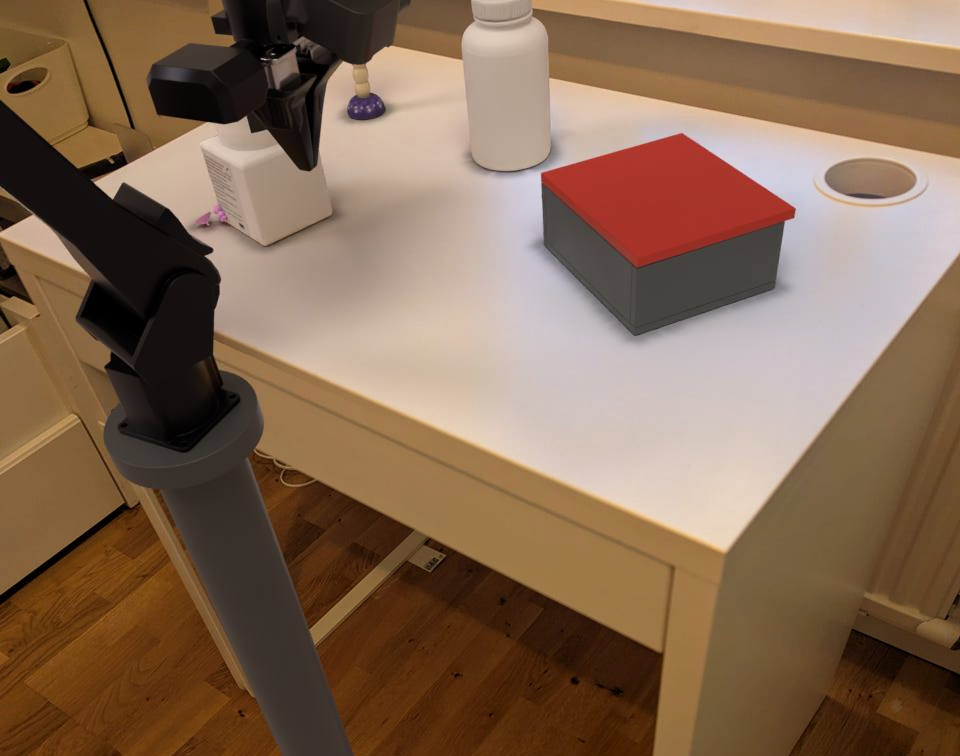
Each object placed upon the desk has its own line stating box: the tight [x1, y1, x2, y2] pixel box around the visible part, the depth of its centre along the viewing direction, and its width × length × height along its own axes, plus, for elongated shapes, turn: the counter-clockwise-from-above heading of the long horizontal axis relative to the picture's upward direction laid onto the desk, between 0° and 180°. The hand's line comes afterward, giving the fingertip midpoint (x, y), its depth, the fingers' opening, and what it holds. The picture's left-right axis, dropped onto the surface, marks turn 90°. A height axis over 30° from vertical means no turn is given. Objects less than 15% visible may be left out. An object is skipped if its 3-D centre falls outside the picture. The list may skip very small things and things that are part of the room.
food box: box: [540, 182, 786, 336], centre depth 74 cm, size 12×15×6 cm
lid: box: [540, 132, 797, 268], centre depth 72 cm, size 13×15×1 cm
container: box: [199, 112, 333, 247], centre depth 83 cm, size 8×8×13 cm
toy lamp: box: [346, 63, 386, 121], centre depth 98 cm, size 5×5×17 cm
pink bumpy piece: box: [194, 204, 228, 226], centre depth 87 cm, size 3×2×2 cm
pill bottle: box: [461, 0, 552, 172], centre depth 88 cm, size 8×8×15 cm
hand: (308, 168), depth 65 cm, fingers closed
